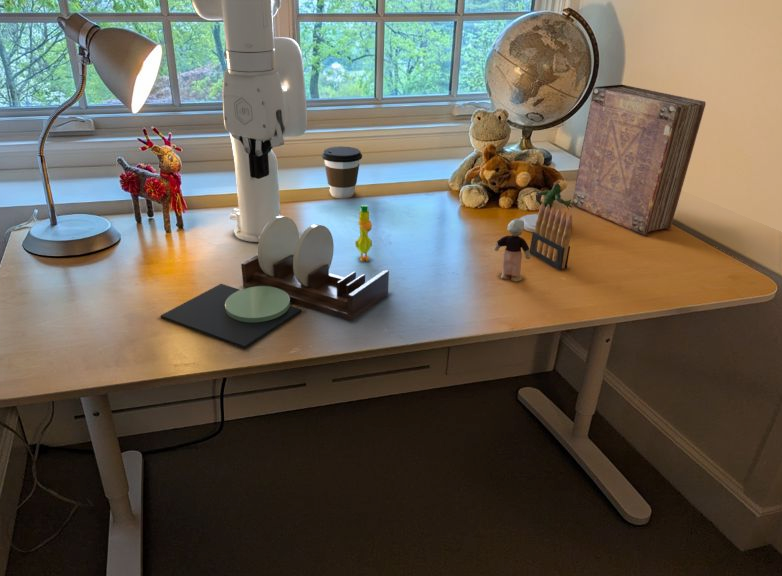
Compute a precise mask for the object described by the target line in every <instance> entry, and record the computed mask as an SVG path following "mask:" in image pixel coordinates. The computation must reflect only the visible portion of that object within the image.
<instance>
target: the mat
mask: <svg viewBox="0 0 782 576" xmlns="http://www.w3.org/2000/svg"><path fill="white" fill-rule="evenodd" d="M239 290H240V289H239V288H235V287H234V286H233V287H232V286H229V285H226V284H223V283H219V284H218V285H216V286H214V287H212V288H210V289H208V290H206V291H205V292H202V293H200V294H199V295H197V296H195V297H193V298H191V299H189V300H187V301H185V302H183V303H181V304H180V305H178V306H175V307H174V308H172V309H170V310H168V311H166V312H165V313H162V314H161V315H160V319H162V320H164V321H168V322H170V323H173V324H175V325H178V326H181V327H184V328H186V329H190V330H192V331H195V332H196V333H197V332H198V333H200V334H203V335H206V336H208V337H211V338H214V339H217V340H219V341H222V342H225V343H228V344H230V345H232V346H235V347H239V348H241V349H244V350H246V349H248V348H249V347H251V346H252V345H253V344H255V343H257V342H258V341H260V340H261V339H263V338H264V337H266V336H267V335H269V334H270V333H271V332H273V331H275V330H276V329H278V328H280V327H281V326H282V325H284V324H286V323H287V322H288V321H290V320H292V319H293V318H295V317H296V316H298V315H300V314H301V313H302V311H303V310H302V308H299V307H295V306H293V305H290V307H289V309H288V311H287V312H286V313H284V314H283V315H281V316H280V317H277V318H275V319H272V320H269V321H264V322H242V321H238V320H235V319H233V318H231V317H230V316H229V315H228V314H227V313H226V309H225V302H226V300H227V298H228V297H229V296H230V295H232V294H233V293H235V292H237V291H239Z"/></svg>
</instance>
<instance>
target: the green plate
mask: <svg viewBox="0 0 782 576" xmlns="http://www.w3.org/2000/svg"><path fill="white" fill-rule="evenodd" d="M290 306H291V302H290V297H289V295H288V294H287V293H286V292H285V291H283V290H281V289H279V288H275V287H269V286H256V287H249V288H242V289H239V291H237V292H235V293H233V294H232V295H230V296H229V297H228V298H227V300H226V302H225V309H226V313H227V314H228V315H229V316H230V317H231V318H233V319H235V320H238V321H242V322H264V321H269V320H272V319H275V318H277V317H280V316H281V315H283V314H284V313H286V312H287V311H288V309H289V307H290Z"/></svg>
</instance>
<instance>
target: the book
mask: <svg viewBox="0 0 782 576" xmlns="http://www.w3.org/2000/svg"><path fill="white" fill-rule="evenodd" d="M706 104H707V103H706V101H704V100H700V99H695V98H690V97H685V96H679V95H674V94H670V93H665V92H660V91H656V90H652V89H651V90H650V89H645V88H641V87H636V86H631V85H626V84H612V85H604V86H603V85H601V86H594V87H593V89H592V94H591V98H590V104H589V110H588V115H587V121H586V126H585V131H584V137H583V143H582V148H581V153H580V159H579V164H578V168H577V174H576V181H575V185H574V191H573V197H572V200H571V201H572V202H571V203H573V204H571V206H573V207H576V208H578V209H581V210H583V211H584V212H588V213H590V214H592V215H594V216H597V217H599V218H602V219H603V220H606V221H609V222H611V223H612V224H616V225H618V226H620V227H622V228H625V229H627V230H629V231H632V232H634V233H636V234H638V235H641V236H643V237H645V236H646V235H647V234H648V233H649V232H655V231H659V230H663V229H664V230H666V231H669V230H671V229H672V225H673V221H674V217H675V215H676V211H677V207H678V205H679V200H680V197H681V193H682V189H683V186H684V182H685V179H686V175H687V172H688V169H689V165H690V161H691V158H692V154H693V150H694V148H695V143H696V140H697V136H698V134H699V133H698V132H699V129H700V127H701V122H702V119H703V115H704V112H705V108H706Z"/></svg>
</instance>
